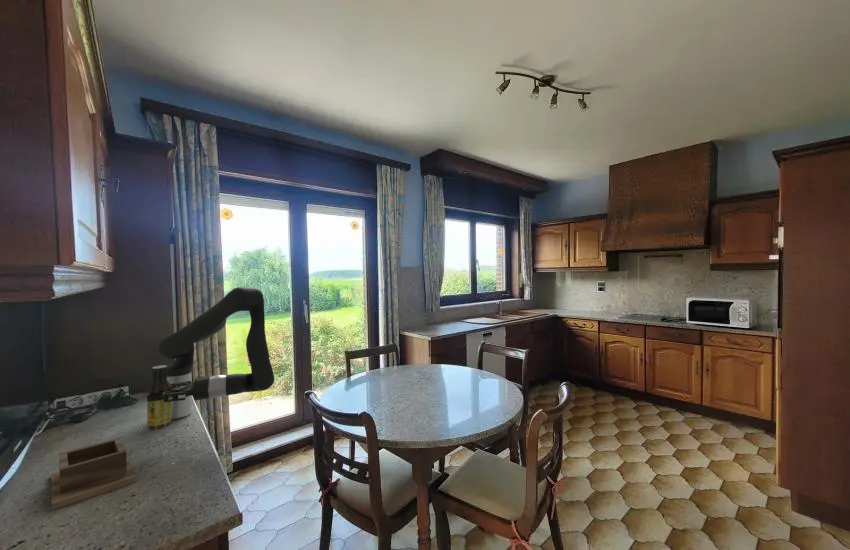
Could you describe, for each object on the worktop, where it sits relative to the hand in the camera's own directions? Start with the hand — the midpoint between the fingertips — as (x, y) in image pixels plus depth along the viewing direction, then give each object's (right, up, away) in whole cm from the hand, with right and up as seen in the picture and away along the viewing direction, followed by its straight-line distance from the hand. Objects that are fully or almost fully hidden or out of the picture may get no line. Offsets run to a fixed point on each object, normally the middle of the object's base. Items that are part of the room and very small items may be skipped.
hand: (150, 394), depth 112 cm
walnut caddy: (-5, -19, -14) cm, 24 cm away
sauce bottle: (+2, -11, +1) cm, 12 cm away
